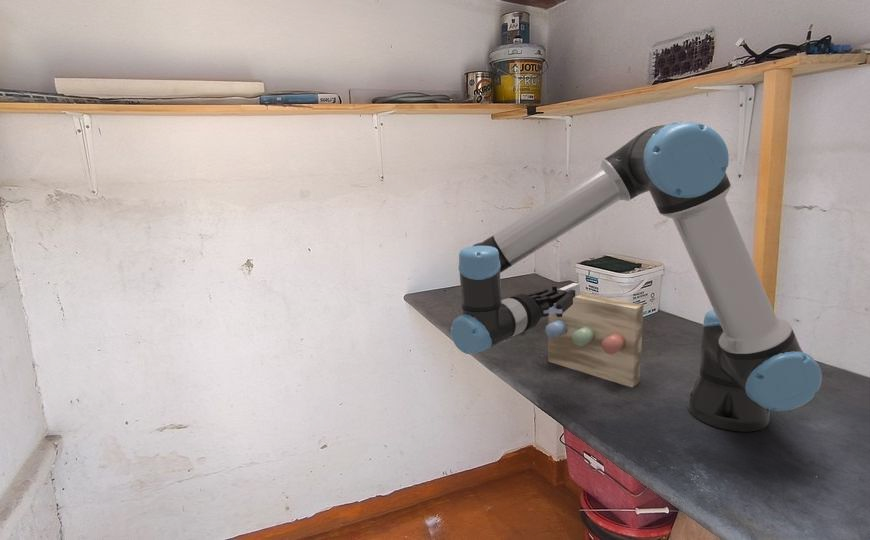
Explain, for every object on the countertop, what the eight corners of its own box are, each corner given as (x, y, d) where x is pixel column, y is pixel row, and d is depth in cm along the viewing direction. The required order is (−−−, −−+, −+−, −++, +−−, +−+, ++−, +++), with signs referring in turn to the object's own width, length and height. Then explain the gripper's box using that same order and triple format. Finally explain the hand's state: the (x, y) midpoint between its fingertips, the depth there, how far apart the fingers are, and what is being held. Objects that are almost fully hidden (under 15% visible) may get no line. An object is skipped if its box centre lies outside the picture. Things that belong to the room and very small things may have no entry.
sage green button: (586, 347, 124) (586, 332, 123) (572, 344, 127) (572, 329, 126) (594, 343, 127) (595, 328, 126) (580, 339, 130) (580, 324, 129)
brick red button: (617, 356, 118) (617, 340, 117) (601, 352, 121) (601, 336, 120) (625, 351, 121) (625, 335, 120) (609, 347, 124) (610, 331, 123)
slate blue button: (558, 340, 130) (558, 325, 129) (545, 336, 133) (545, 322, 132) (566, 336, 132) (567, 321, 132) (553, 332, 135) (554, 318, 134)
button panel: (632, 387, 122) (635, 308, 117) (548, 361, 139) (548, 291, 134) (639, 382, 125) (643, 304, 120) (556, 357, 142) (557, 288, 137)
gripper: (490, 326, 108) (553, 299, 123) (541, 339, 99) (602, 308, 114) (489, 293, 106) (552, 270, 122) (540, 302, 97) (602, 276, 112)
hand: (576, 288), depth 118 cm, fingers closed
